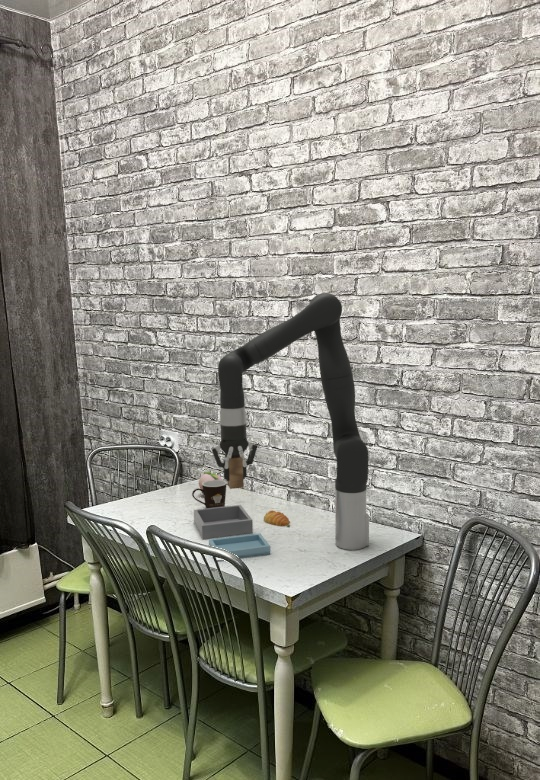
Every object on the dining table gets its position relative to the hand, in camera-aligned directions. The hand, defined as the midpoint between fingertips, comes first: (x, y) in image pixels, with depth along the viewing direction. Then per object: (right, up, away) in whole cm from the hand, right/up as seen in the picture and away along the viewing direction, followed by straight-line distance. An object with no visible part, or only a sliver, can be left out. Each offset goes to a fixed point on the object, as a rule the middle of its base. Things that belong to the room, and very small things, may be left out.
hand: (235, 479), depth 186 cm
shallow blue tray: (+1, -21, 0) cm, 21 cm away
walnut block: (0, -2, 0) cm, 2 cm away
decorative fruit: (-12, -14, +54) cm, 57 cm away
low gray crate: (-5, -19, +18) cm, 26 cm away
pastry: (+13, -18, +23) cm, 32 cm away
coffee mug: (-11, -16, +37) cm, 42 cm away
